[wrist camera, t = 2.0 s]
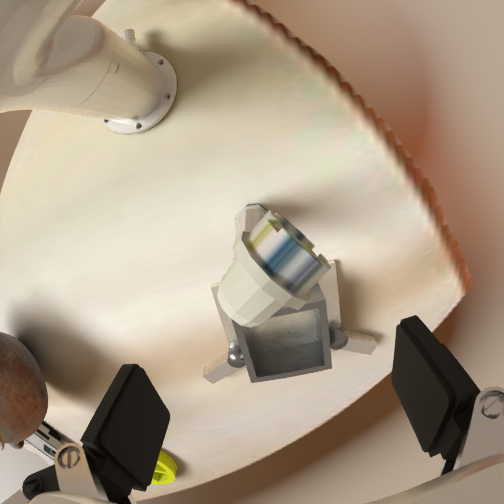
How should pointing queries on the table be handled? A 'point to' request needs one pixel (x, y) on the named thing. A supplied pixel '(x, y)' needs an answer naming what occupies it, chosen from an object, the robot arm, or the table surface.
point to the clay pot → (19, 393)
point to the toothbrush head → (268, 268)
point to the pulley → (164, 469)
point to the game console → (45, 440)
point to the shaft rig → (289, 338)
